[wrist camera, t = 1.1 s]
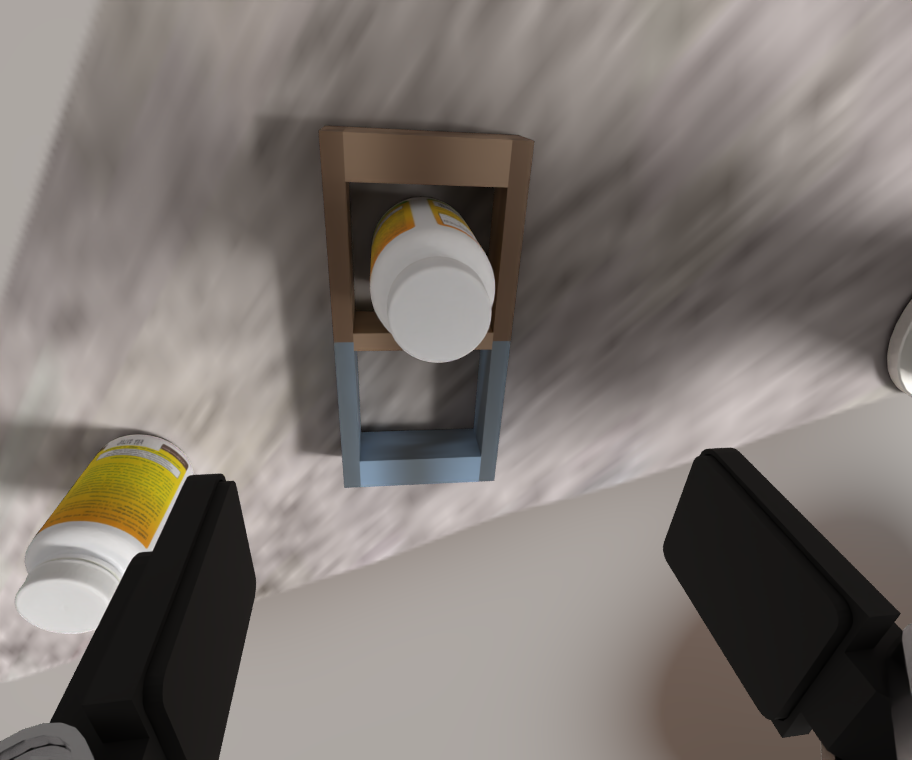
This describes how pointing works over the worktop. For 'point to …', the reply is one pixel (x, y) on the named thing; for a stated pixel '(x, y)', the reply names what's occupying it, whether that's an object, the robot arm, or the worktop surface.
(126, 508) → the supplement bottle
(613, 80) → the worktop surface
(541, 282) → the worktop surface
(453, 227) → the supplement bottle
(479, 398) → the slot rack
